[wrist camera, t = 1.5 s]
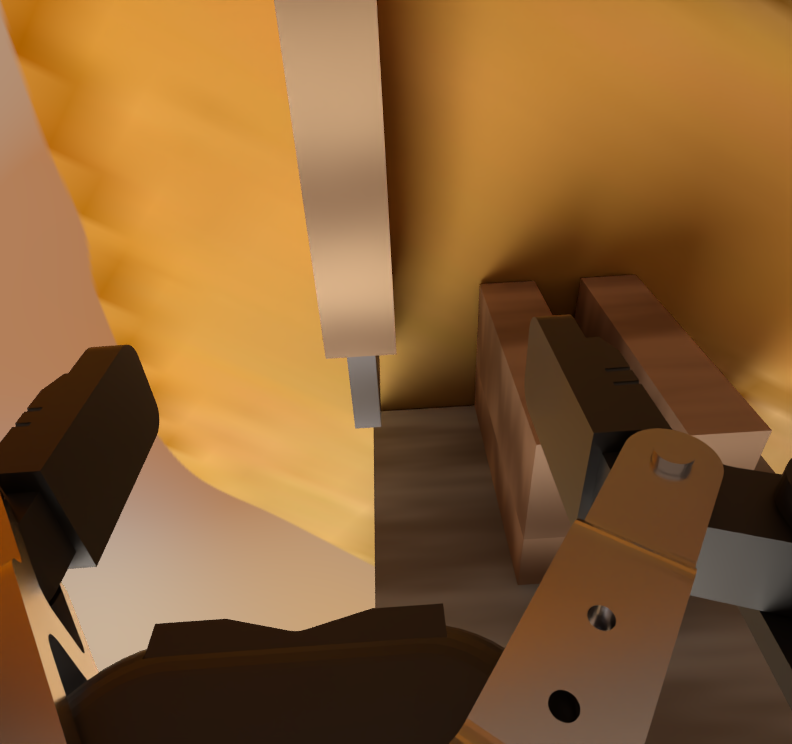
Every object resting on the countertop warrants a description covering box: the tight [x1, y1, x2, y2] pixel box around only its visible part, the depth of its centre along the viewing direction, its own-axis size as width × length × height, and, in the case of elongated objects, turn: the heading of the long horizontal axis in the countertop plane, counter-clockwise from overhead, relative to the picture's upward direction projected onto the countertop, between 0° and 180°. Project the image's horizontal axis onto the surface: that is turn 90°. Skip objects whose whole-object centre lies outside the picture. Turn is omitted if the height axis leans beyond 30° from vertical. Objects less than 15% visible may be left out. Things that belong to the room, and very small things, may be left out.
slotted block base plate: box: [374, 275, 792, 744], centre depth 23 cm, size 10×20×20 cm, turn 93°
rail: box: [274, 0, 396, 428], centre depth 23 cm, size 18×3×6 cm, turn 3°
